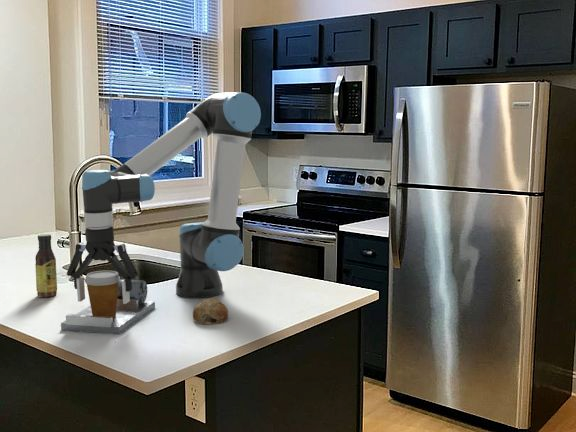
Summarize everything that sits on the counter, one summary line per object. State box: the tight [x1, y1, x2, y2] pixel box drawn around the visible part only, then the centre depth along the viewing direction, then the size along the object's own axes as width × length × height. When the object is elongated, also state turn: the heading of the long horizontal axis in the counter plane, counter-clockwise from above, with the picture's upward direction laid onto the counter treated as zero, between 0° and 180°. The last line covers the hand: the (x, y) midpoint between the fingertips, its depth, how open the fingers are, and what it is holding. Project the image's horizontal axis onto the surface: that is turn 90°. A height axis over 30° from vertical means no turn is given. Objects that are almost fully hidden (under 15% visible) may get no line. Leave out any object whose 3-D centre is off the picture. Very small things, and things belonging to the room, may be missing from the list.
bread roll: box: [192, 297, 229, 326], centre depth 185 cm, size 10×10×8 cm
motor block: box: [60, 278, 156, 335], centre depth 186 cm, size 17×25×9 cm
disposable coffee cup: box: [84, 270, 121, 317], centre depth 182 cm, size 10×10×12 cm
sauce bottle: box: [34, 233, 58, 298], centre depth 209 cm, size 7×6×20 cm
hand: (103, 301), depth 182 cm, fingers open, 13 cm apart
